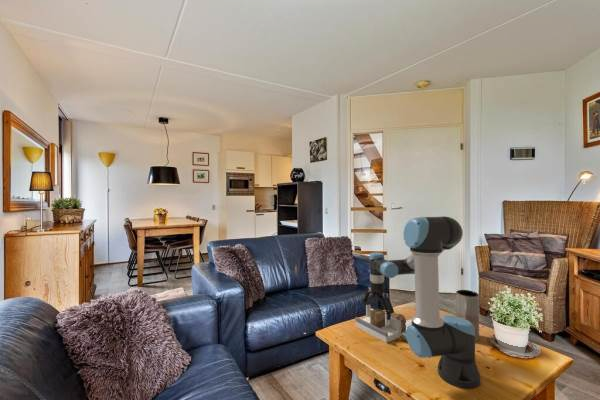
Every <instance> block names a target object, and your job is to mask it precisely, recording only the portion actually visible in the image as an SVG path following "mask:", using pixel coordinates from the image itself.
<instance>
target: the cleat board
mask: <svg viewBox="0 0 600 400" xmlns="http://www.w3.org/2000/svg"><path fill="white" fill-rule="evenodd" d="M374 309H375V308H372V307H371V310H374ZM354 320H355V323H354V324H355V325H354V326H355V327H356V328H358V329H359V330H362V331H363V332H366V333H367V334H369V335H370V336H371V337H372V336H373V337H374V338H376V339H379V340H380V341H381V342H383V343H386V344H387V343H389V342H392V341H394V340H397V339H399V338H401V337H402V331H401V321H399V320H397V319H395V318H392V317H391V319H390V325H388V326H384V327H381V328H378V327H376V326H374V325H372V324H370V316H369V317H366V316H365V317H363V318H360V317H358V316H355V319H354ZM400 336H401V337H400ZM396 338H397V339H396Z"/></svg>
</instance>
